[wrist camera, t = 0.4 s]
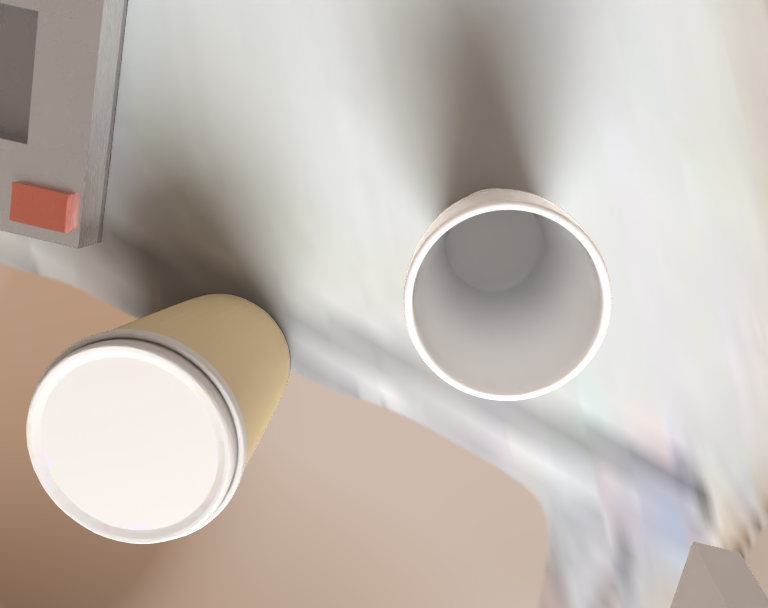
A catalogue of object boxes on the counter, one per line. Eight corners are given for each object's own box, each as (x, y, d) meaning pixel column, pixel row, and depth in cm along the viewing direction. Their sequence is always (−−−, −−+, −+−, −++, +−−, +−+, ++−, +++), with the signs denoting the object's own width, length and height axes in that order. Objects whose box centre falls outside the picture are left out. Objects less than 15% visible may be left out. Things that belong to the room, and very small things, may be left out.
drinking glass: (576, 190, 36) (644, 227, 22) (538, 316, 38) (579, 427, 24) (446, 158, 37) (428, 174, 22) (414, 284, 39) (379, 375, 24)
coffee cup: (116, 370, 42) (-21, 460, 30) (202, 244, 39) (89, 289, 28) (245, 466, 42) (159, 591, 31) (338, 347, 40) (283, 434, 28)
